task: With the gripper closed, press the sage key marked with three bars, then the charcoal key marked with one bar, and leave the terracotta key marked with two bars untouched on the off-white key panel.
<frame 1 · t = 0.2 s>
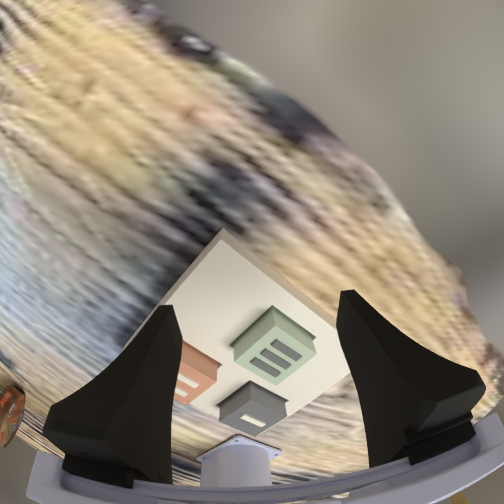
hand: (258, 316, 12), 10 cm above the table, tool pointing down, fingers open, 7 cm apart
key one: (252, 408, 25), point 3 cm above the table, slide at 0.0 cm
key three: (273, 346, 22), point 3 cm above the table, slide at 0.0 cm
key two: (180, 370, 23), point 3 cm above the table, slide at 0.0 cm
tin: (17, 399, 30), on the table
key panel: (243, 347, 26), on the table
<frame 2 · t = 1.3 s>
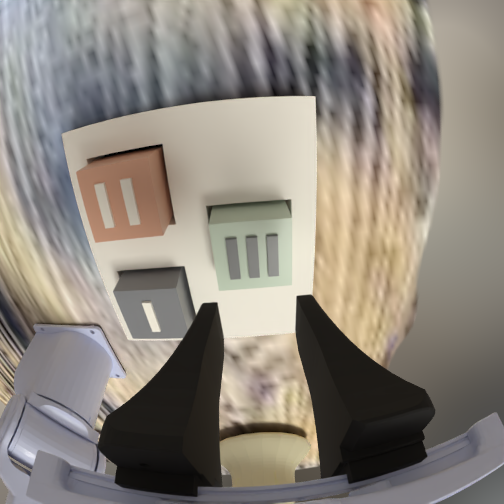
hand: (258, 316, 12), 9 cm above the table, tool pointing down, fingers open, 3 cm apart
key one: (156, 302, 20), point 3 cm above the table, slide at 0.0 cm
key three: (252, 244, 18), point 3 cm above the table, slide at 0.0 cm
key two: (126, 194, 16), point 3 cm above the table, slide at 0.0 cm
handbell: (260, 441, 39), on the table
key panel: (200, 227, 21), on the table
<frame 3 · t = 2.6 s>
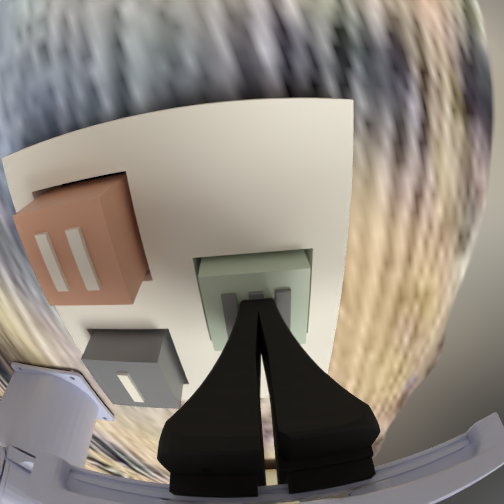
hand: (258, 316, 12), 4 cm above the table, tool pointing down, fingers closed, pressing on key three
key one: (136, 367, 15), point 3 cm above the table, slide at 0.0 cm
key three: (255, 294, 14), point 2 cm above the table, slide at 1.0 cm, touching gripper
key two: (82, 242, 11), point 3 cm above the table, slide at 0.0 cm
key panel: (188, 274, 16), on the table
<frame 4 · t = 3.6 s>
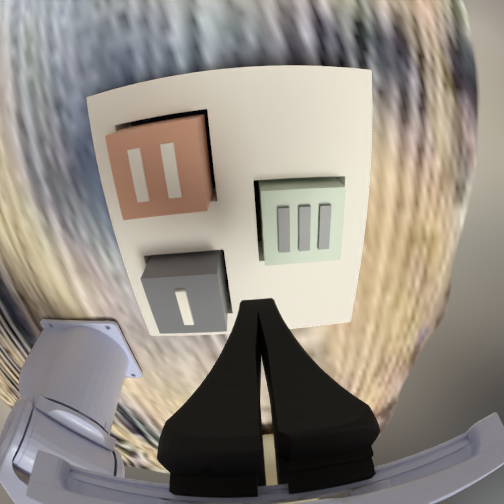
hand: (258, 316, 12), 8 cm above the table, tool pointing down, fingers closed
key one: (188, 292, 18), point 3 cm above the table, slide at 0.0 cm
key three: (299, 217, 17), point 2 cm above the table, slide at 1.0 cm
key two: (162, 165, 14), point 3 cm above the table, slide at 0.0 cm
handbell: (279, 441, 38), on the table
key panel: (238, 207, 19), on the table
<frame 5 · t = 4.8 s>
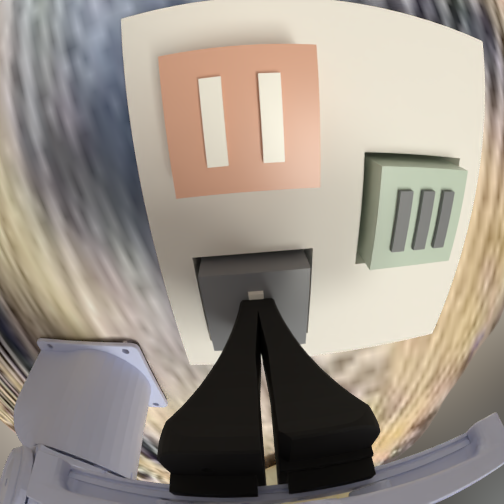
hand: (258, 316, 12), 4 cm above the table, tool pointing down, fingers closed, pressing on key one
key one: (255, 294, 14), point 2 cm above the table, slide at 1.0 cm, touching gripper
key three: (406, 206, 12), point 2 cm above the table, slide at 1.0 cm
key two: (242, 115, 9), point 3 cm above the table, slide at 0.0 cm
handbell: (312, 460, 32), on the table
key panel: (322, 192, 14), on the table
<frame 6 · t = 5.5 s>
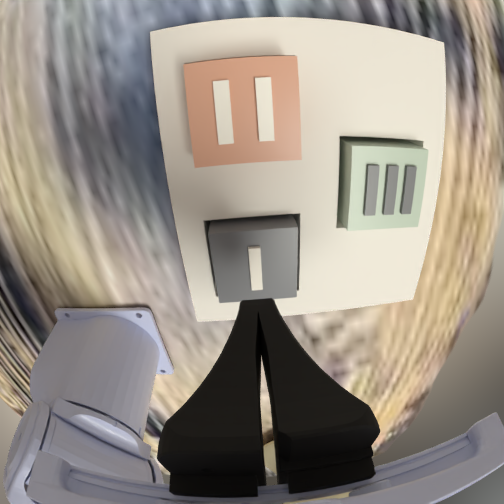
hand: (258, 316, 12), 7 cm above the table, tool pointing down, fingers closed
key one: (254, 254, 17), point 2 cm above the table, slide at 1.0 cm
key three: (378, 181, 15), point 2 cm above the table, slide at 1.0 cm
key two: (243, 108, 12), point 3 cm above the table, slide at 0.0 cm
handbell: (309, 439, 36), on the table
key panel: (309, 171, 16), on the table
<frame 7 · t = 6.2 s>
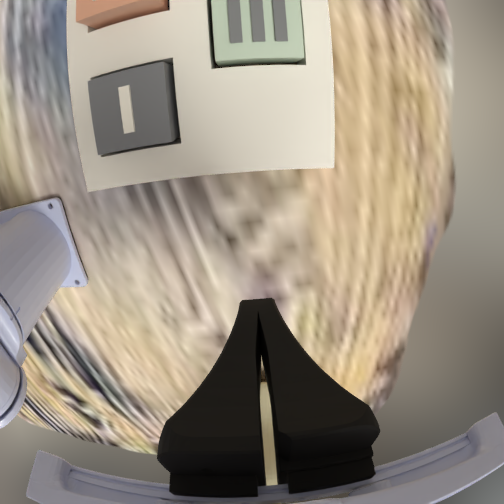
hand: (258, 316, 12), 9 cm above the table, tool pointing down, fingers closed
key one: (135, 107, 14), point 2 cm above the table, slide at 1.0 cm
key three: (255, 25, 12), point 2 cm above the table, slide at 1.0 cm
handbell: (263, 404, 33), on the table
key panel: (195, 38, 14), on the table
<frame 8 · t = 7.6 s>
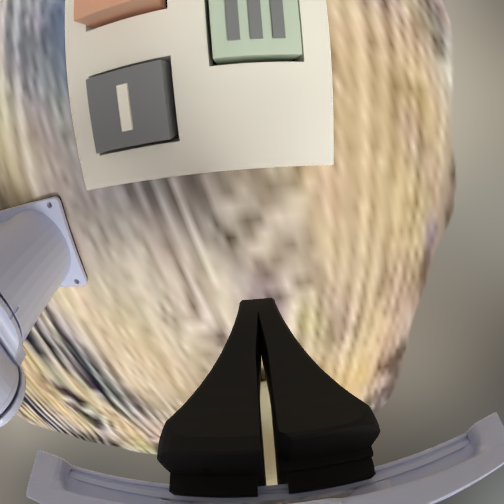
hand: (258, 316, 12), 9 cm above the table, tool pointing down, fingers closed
key one: (134, 105, 14), point 2 cm above the table, slide at 1.0 cm
key three: (253, 22, 12), point 2 cm above the table, slide at 1.0 cm
handbell: (264, 403, 33), on the table
key panel: (193, 36, 14), on the table
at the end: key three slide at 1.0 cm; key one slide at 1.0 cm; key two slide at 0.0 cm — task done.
